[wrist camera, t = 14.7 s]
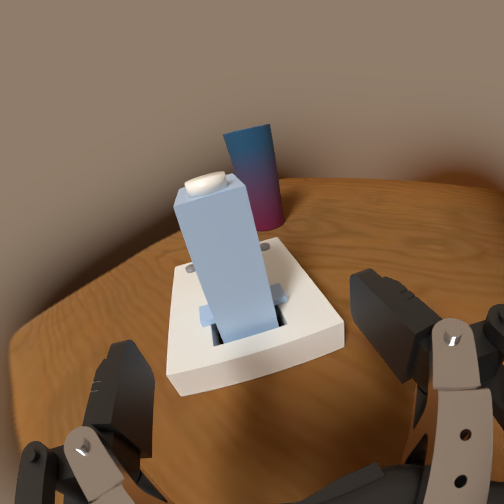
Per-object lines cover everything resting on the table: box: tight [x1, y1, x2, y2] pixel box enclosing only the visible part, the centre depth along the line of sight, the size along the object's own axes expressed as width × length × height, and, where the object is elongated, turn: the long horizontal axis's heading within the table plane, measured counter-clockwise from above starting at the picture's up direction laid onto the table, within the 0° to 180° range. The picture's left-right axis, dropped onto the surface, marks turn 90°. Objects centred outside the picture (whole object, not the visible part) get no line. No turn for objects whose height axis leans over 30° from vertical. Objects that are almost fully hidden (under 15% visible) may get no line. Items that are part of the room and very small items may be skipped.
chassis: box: [166, 237, 344, 397], centre depth 24 cm, size 16×12×3 cm
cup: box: [223, 124, 284, 231], centre depth 39 cm, size 7×7×15 cm
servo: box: [174, 172, 288, 344], centre depth 19 cm, size 6×7×13 cm
